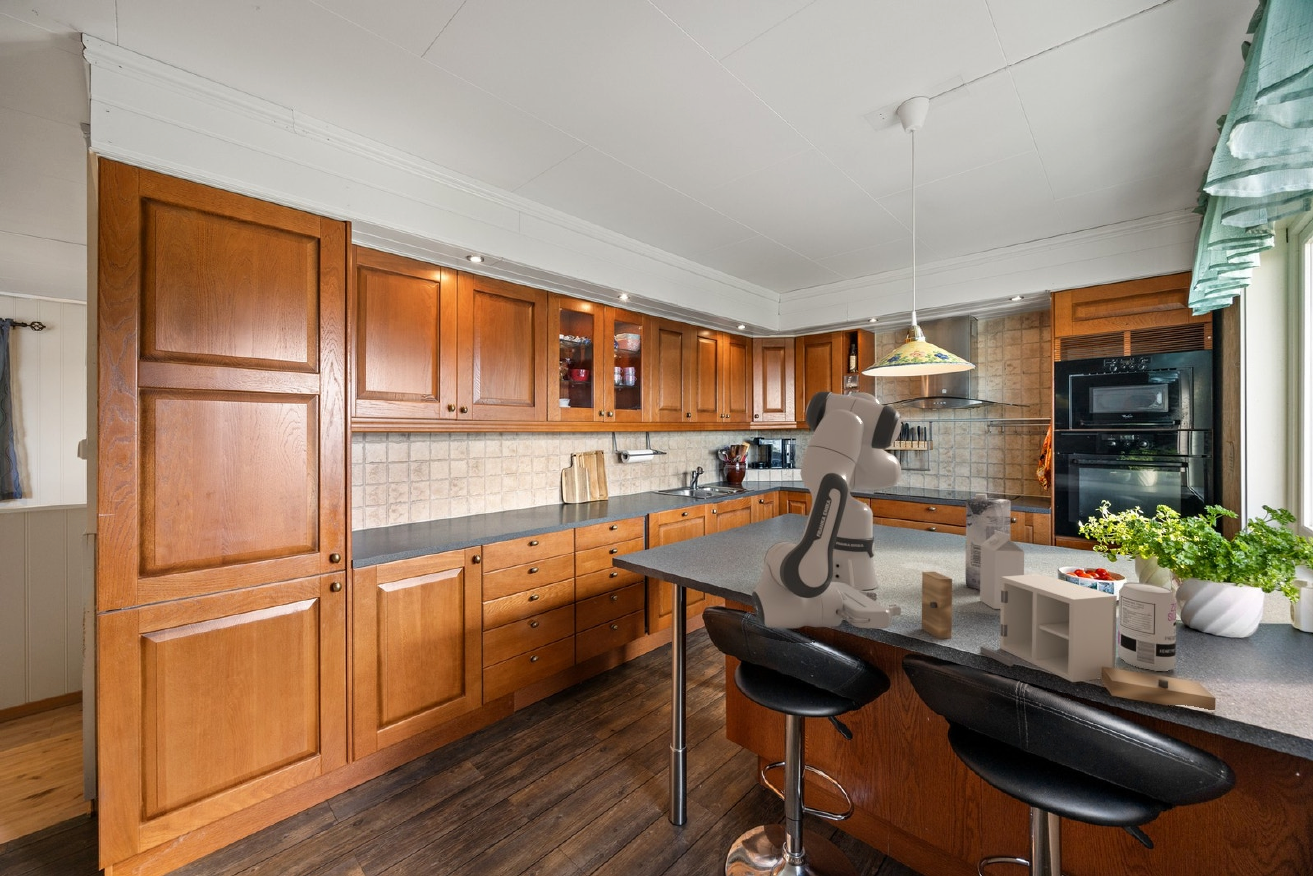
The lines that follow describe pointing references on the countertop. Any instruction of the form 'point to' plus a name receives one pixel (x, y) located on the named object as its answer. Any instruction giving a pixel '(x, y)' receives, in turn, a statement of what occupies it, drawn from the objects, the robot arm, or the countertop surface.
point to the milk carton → (998, 566)
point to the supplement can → (1147, 626)
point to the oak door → (937, 604)
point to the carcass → (1057, 626)
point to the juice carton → (982, 530)
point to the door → (1156, 689)
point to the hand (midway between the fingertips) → (886, 602)
